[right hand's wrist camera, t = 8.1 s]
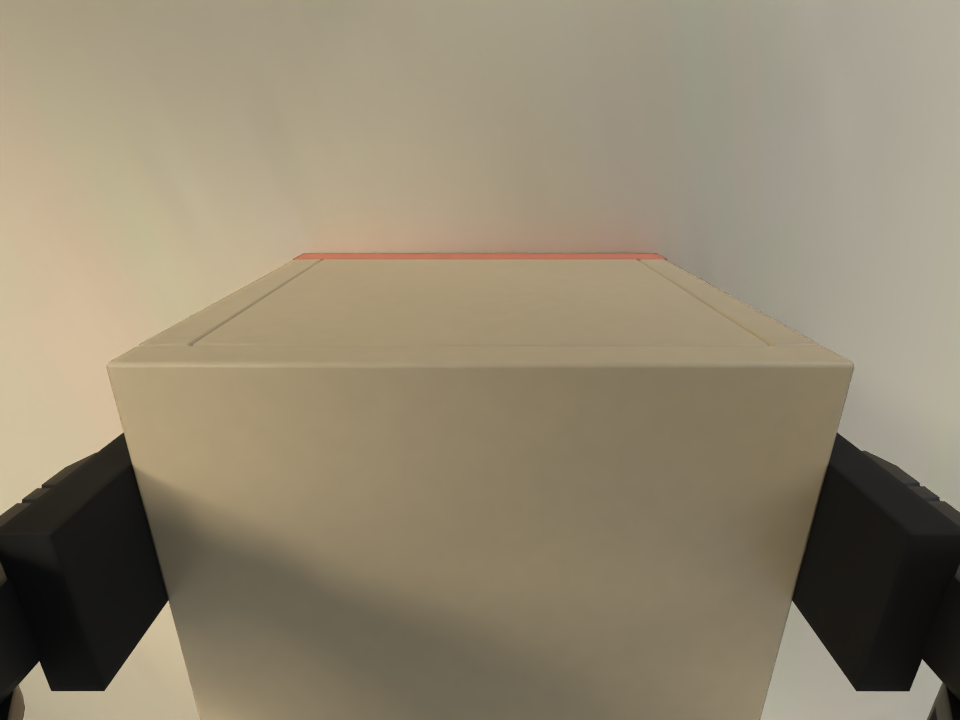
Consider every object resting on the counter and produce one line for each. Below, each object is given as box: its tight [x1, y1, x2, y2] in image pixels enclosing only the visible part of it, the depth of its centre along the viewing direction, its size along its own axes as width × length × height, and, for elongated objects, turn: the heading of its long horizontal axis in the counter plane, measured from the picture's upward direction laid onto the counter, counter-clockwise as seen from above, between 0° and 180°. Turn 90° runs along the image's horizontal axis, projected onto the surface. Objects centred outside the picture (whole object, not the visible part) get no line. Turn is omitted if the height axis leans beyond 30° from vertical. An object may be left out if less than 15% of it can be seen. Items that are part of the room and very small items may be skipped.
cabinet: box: [107, 253, 854, 720], centre depth 15 cm, size 18×11×9 cm, turn 0°
